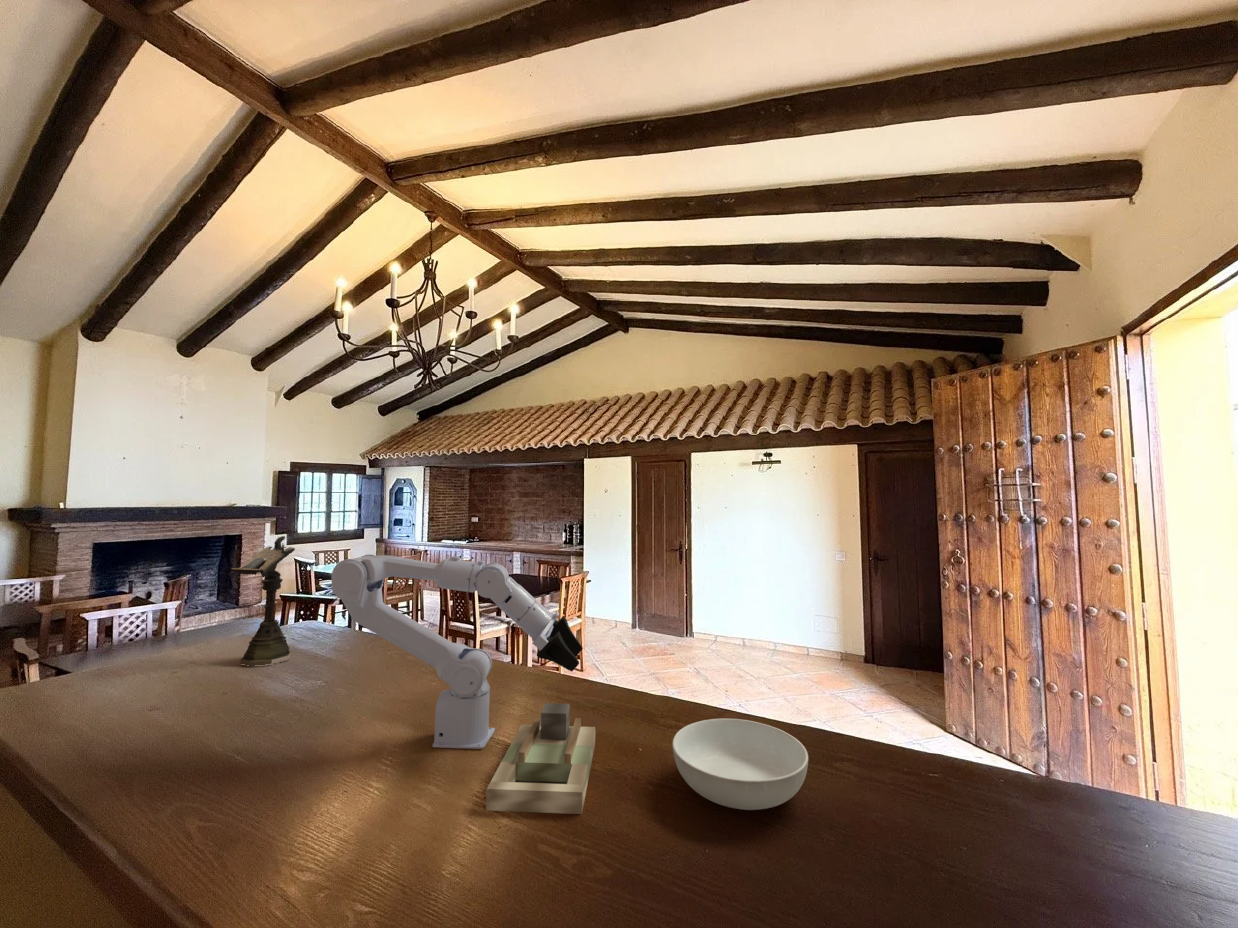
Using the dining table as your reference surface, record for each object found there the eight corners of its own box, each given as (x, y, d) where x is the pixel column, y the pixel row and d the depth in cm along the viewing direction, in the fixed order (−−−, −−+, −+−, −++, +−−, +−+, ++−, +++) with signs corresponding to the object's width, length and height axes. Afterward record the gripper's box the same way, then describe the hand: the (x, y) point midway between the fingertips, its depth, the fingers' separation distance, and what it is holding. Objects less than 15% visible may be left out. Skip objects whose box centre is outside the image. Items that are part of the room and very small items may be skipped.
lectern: (245, 675, 131) (255, 537, 133) (211, 669, 135) (221, 536, 138) (305, 657, 146) (312, 534, 149) (272, 652, 150) (280, 533, 153)
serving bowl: (668, 756, 91) (668, 716, 92) (786, 759, 91) (785, 719, 91) (677, 829, 71) (677, 777, 71) (830, 834, 70) (829, 781, 71)
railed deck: (486, 810, 74) (487, 777, 75) (521, 741, 96) (521, 716, 97) (581, 813, 74) (582, 781, 74) (595, 743, 96) (595, 718, 96)
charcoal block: (540, 739, 91) (541, 712, 91) (545, 728, 95) (545, 703, 95) (565, 739, 90) (566, 713, 91) (569, 728, 95) (569, 703, 95)
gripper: (533, 606, 92) (588, 658, 92) (545, 587, 106) (593, 632, 106) (506, 635, 92) (562, 687, 92) (523, 612, 106) (570, 657, 106)
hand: (577, 659), depth 99 cm, fingers open, 7 cm apart
